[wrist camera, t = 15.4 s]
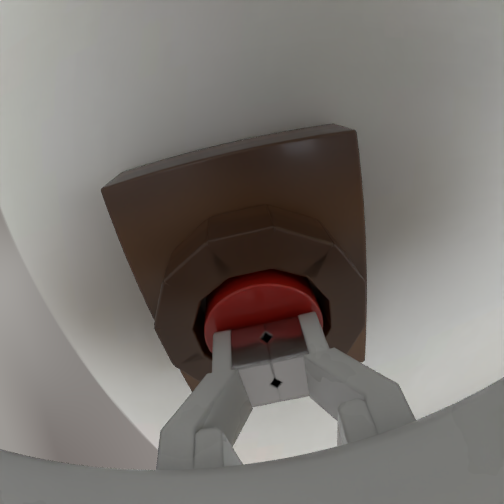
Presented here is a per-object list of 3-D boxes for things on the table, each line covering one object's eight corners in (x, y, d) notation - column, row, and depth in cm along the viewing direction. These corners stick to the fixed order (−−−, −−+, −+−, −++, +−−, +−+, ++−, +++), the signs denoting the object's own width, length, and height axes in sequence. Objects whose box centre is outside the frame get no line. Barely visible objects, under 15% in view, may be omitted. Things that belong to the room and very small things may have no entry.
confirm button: (192, 267, 10) (187, 299, 8) (304, 243, 10) (318, 271, 8) (221, 347, 12) (222, 381, 10) (315, 327, 12) (326, 360, 10)
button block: (120, 172, 11) (75, 209, 7) (334, 123, 11) (383, 138, 7) (196, 363, 15) (192, 428, 12) (351, 331, 15) (378, 391, 12)
